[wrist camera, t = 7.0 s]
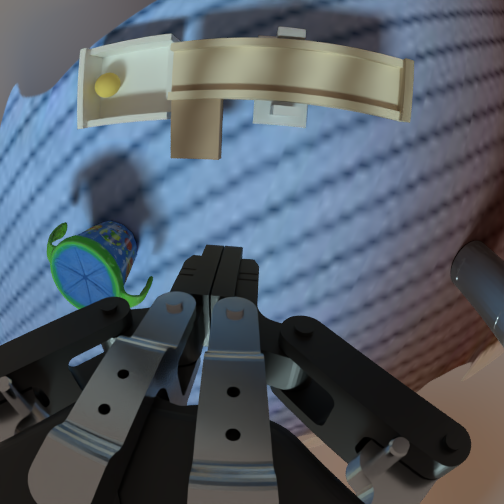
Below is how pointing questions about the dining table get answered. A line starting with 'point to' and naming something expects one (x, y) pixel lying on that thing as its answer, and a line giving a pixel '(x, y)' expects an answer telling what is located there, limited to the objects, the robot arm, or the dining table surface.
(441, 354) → the dining table surface
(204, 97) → the lever
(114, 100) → the tray
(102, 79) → the ball
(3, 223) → the dining table surface
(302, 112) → the stand
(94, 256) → the snack cup
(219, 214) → the dining table surface
